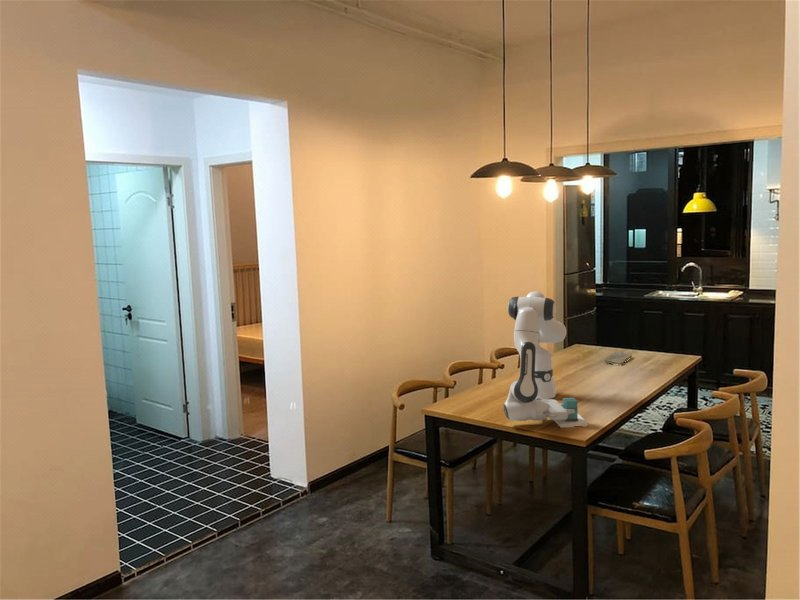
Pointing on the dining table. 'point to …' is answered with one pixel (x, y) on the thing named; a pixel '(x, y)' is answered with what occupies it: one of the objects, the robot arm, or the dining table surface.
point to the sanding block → (569, 404)
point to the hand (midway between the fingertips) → (572, 408)
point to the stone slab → (617, 358)
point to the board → (572, 422)
